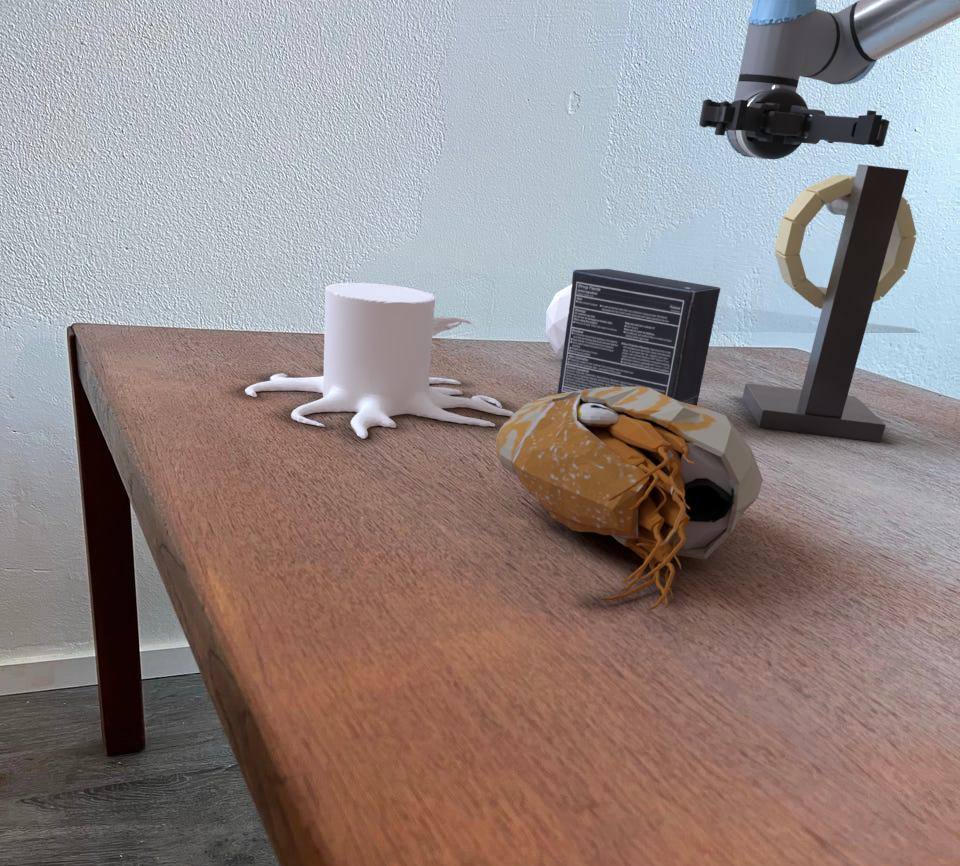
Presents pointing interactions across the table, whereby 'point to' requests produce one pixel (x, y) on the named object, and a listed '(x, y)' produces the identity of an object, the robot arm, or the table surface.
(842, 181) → the tape roll
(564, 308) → the geometric ball
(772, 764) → the table surface
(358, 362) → the tree stump
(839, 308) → the tape stand
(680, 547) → the nautilus
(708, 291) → the small box
